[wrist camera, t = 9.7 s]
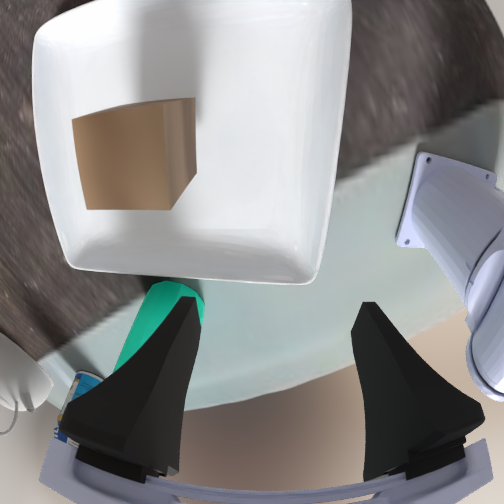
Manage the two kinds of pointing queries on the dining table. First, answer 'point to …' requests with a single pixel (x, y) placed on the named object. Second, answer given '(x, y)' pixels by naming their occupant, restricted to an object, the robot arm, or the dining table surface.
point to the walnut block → (136, 154)
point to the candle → (155, 315)
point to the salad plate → (202, 131)
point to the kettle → (21, 380)
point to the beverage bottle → (79, 387)
